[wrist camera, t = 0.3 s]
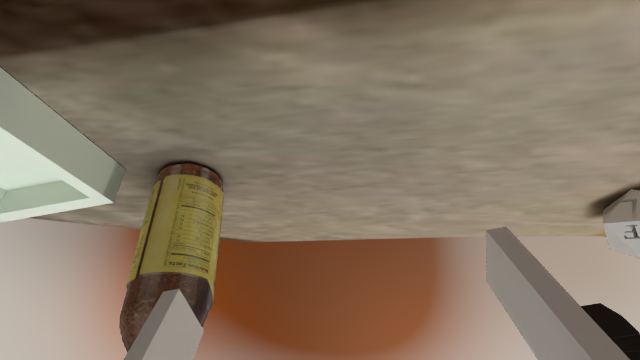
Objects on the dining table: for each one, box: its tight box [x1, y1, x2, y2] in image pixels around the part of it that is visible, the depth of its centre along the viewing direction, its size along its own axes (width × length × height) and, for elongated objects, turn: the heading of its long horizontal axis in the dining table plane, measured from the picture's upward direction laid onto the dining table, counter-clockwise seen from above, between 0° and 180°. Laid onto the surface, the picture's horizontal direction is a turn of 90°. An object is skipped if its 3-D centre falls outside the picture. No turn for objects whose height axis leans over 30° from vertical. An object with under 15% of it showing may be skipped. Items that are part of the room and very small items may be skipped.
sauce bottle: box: [120, 163, 224, 353], centre depth 25 cm, size 7×6×20 cm
